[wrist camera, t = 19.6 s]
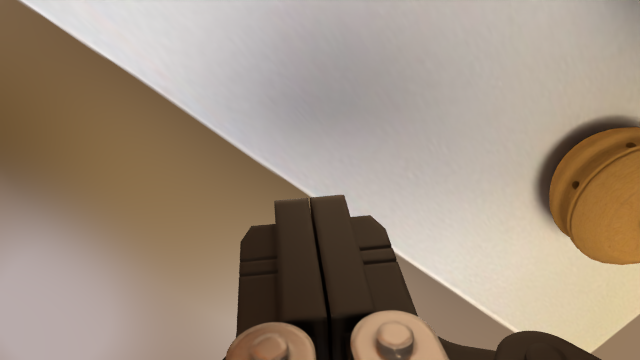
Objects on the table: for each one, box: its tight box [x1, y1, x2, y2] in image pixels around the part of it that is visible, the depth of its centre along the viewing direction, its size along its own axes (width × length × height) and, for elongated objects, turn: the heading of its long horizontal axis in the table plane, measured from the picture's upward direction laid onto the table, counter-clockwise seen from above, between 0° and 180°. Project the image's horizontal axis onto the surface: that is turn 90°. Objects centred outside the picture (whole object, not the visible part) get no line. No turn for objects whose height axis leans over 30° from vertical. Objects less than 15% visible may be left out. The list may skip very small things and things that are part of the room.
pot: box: [549, 127, 640, 265], centre depth 45 cm, size 12×12×10 cm
